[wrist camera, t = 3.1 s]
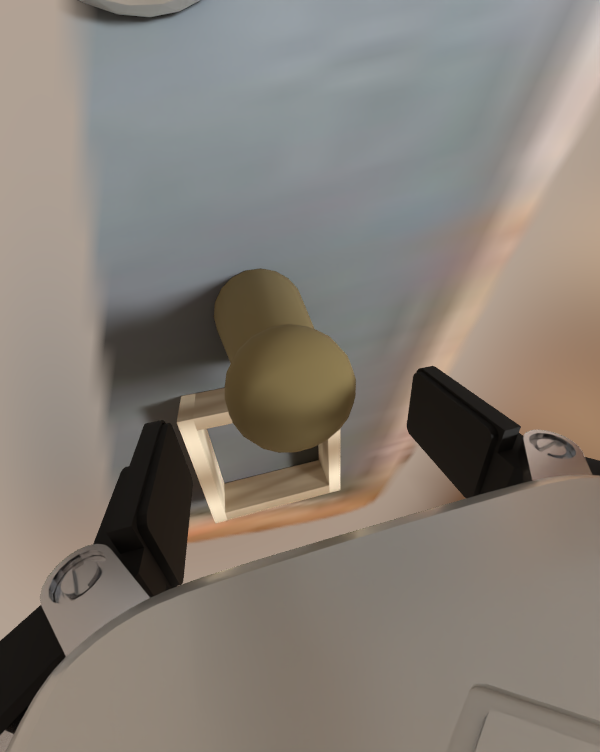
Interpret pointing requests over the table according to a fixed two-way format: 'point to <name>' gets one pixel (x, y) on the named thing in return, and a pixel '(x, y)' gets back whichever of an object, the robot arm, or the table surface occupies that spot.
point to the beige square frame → (255, 490)
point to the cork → (280, 365)
